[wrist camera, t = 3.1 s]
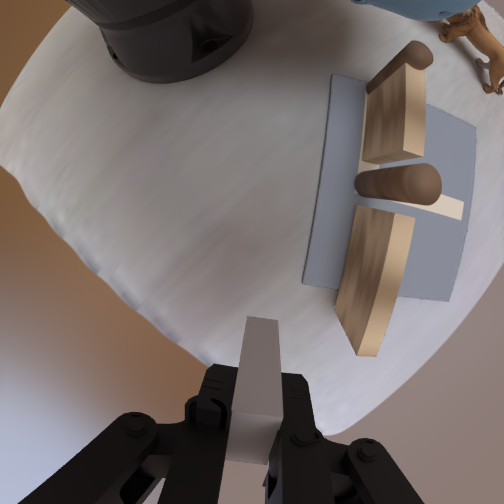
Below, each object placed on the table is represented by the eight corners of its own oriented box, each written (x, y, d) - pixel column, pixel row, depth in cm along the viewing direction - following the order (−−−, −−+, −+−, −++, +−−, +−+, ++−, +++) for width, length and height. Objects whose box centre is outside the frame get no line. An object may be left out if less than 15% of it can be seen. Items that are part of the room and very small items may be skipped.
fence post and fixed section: (362, 81, 21) (410, 29, 11) (384, 87, 21) (441, 43, 11) (350, 194, 24) (406, 200, 13) (374, 199, 24) (439, 209, 13)
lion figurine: (410, 22, 19) (444, -15, 10) (421, 4, 18) (453, -30, 9) (496, 106, 20) (542, 95, 11) (502, 83, 19) (544, 69, 10)
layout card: (331, 75, 21) (333, 73, 21) (473, 128, 21) (476, 127, 20) (301, 282, 26) (302, 284, 25) (446, 299, 26) (448, 301, 25)
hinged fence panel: (356, 204, 23) (394, 212, 15) (372, 208, 23) (415, 217, 15) (334, 310, 25) (356, 356, 18) (349, 311, 25) (376, 356, 18)
